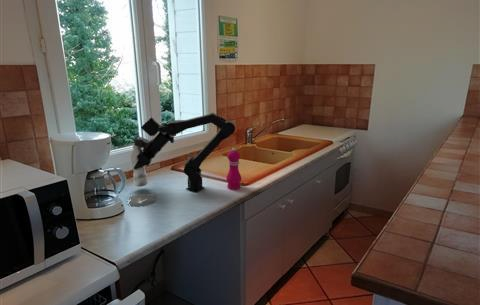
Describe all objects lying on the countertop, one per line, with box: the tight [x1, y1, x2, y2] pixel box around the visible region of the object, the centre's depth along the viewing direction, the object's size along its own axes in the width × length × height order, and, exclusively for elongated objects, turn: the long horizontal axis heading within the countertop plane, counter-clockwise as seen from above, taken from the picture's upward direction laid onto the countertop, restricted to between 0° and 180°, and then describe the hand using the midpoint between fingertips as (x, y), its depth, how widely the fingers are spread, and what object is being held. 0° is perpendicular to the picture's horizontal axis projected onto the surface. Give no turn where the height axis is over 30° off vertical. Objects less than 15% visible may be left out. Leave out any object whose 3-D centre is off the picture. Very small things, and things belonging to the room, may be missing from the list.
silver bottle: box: [130, 143, 149, 187], centre depth 147 cm, size 6×7×20 cm
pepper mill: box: [225, 147, 242, 191], centre depth 152 cm, size 7×7×20 cm
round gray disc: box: [127, 193, 158, 208], centre depth 140 cm, size 13×13×1 cm
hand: (136, 166), depth 147 cm, fingers closed on silver bottle, 6 cm apart
